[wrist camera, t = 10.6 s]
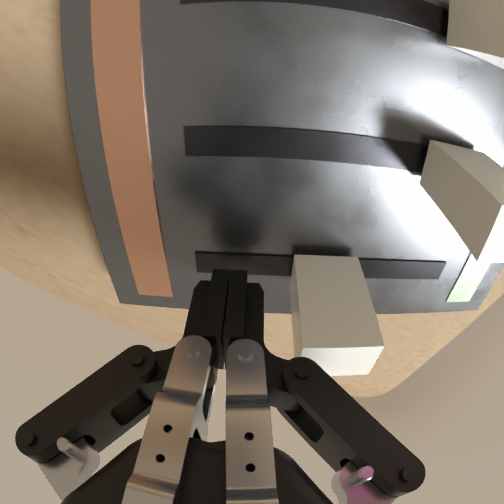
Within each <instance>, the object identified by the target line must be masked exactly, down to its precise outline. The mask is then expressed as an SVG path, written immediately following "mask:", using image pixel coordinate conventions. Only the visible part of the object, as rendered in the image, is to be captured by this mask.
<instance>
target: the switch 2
mask: <svg viewBox="0 0 504 504" xmlns="http://www.w3.org/2000/svg"><path fill="white" fill-rule="evenodd" d="M446 45H447V46H450V47H453V48H455V49H458V50H461V51H463V52H466V53H468V54H471V55H473V56H475V57H478V58H480V59H482V60H485V61H487V62H489V63H491V64H494V65H496V66H498V67H500V68H502V69H504V0H450V1H449V19H448V32H447V42H446Z"/></svg>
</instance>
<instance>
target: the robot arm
mask: <svg viewBox="0 0 504 504" xmlns="http://www.w3.org/2000/svg"><path fill="white" fill-rule="evenodd" d="M247 278H248V270H231V273H230V270H227V269H213V271H212V277H211V281H209V280H200V281H199V283H198V284H197V285H196V286H195V288H194V290H193V295H192V300H191V303H190V308H189V312H188V317H187V321H186V326H185V331H184V335H183V338H182V339H181V340H180V341H179V342H178V343H177V345H176V346H174V347H172V348H170V349H167V350H161V351H156V352H153V351H152V350H151V349H150V348H148V347H147V346H143V345H134V346H132V347H129V348H127V349H126V350H125V351H124V352H122V353H121V354H119V355H118V356H116V357H115V358H114V359H112V360H111V361H109V362H108V363H107V364H105V365H104V366H103V367H101V368H100V369H98V370H97V371H96V372H94V373H93V374H92V375H90V376H89V377H87V378H86V379H85V380H84V381H82V382H81V383H79V384H78V385H76V386H75V387H74V388H72V389H71V390H70V391H68V392H67V393H66V394H64V395H63V396H61V397H60V398H58V399H57V400H56V401H54V402H53V403H51V404H50V405H49V406H47V407H46V408H45V409H43V410H42V411H41V412H39V413H38V414H36V415H35V416H33V417H32V418H31V419H29V420H28V421H27V422H25V423H24V424H22V425H21V426H20V427H19V428H18V430H17V432H16V437H15V439H16V445H17V447H18V449H19V450H20V452H22V453H23V454H24V455H26V456H28V457H29V458H31V459H32V460H34V461H35V462H36V463H37V464H38V465H39V467H40V468H41V470H42V471H43V473H44V475H45V476H46V478H47V479H48V481H49V482H50V484H51V485H52V487H53V488H54V490H55V491H56V493H57V494H58V496H59V497H60V498H61V500H62V503H61V504H333V503H332V502H331V501H330V500H329V499H328V498H327V497H326V495H325V494H324V493H323V492H322V491H321V490H320V489H319V488H318V487H317V486H316V484H315V483H314V482H313V481H312V480H311V479H310V478H309V477H308V475H307V474H306V473H305V472H304V471H303V470H302V469H301V468H300V467H299V465H298V464H297V463H296V462H295V461H294V460H293V459H292V458H291V457H290V456H289V455H287V454H286V453H285V452H283V451H281V450H279V449H277V448H275V447H273V436H272V424H271V411H270V406H273V407H276V408H277V410H278V411H279V412H280V413H281V414H282V416H283V417H284V418H285V419H286V420H287V421H288V422H289V423H290V424H291V425H292V427H293V428H294V429H295V430H296V431H297V432H298V433H299V434H300V435H301V436H302V437H303V438H304V439H305V441H307V443H308V444H309V445H310V446H311V447H312V448H313V449H314V450H315V451H316V452H317V453H318V454H319V455H320V456H321V457H322V458H323V459H324V460H325V461H326V462H327V463H328V464H329V465H330V466H331V467H332V468H333V469H334V470H335V471H336V473H335V474H334V476H333V478H332V481H331V486H332V489H333V491H334V493H335V494H336V495H337V498H338V500H339V504H391V503H392V502H393V501H394V500H395V499H396V498H397V497H399V496H401V495H404V494H407V493H409V492H412V491H414V490H416V489H417V488H418V487H420V485H421V484H422V483H423V481H424V478H425V467H424V465H423V463H422V462H421V461H420V460H419V459H418V458H417V457H416V456H415V455H414V454H413V453H412V452H410V451H409V450H408V449H407V448H406V447H405V446H404V445H402V443H400V442H399V441H398V440H397V439H396V438H395V437H394V436H393V435H392V434H391V433H390V432H388V431H387V430H386V429H385V428H384V427H383V426H382V425H381V424H380V423H379V422H378V421H377V420H376V419H374V418H373V417H372V416H371V415H370V414H369V413H368V412H367V411H366V410H365V409H364V408H363V407H362V406H361V405H360V404H358V403H357V402H356V401H355V400H354V399H353V398H352V397H351V396H350V395H349V394H348V393H347V392H346V391H345V390H344V389H343V388H342V387H341V386H340V385H339V384H338V383H337V382H335V381H334V380H333V379H332V378H331V377H330V376H329V375H328V374H327V373H326V372H325V371H324V370H323V369H322V368H321V367H320V366H319V365H318V364H317V363H316V362H315V361H313V360H312V359H310V358H307V357H295V358H292V359H291V360H286V359H282V358H279V357H277V356H275V355H273V354H271V353H270V352H269V351H268V350H267V348H266V347H265V345H264V291H263V289H262V287H261V285H260V284H259V283H248V282H247ZM224 362H225V369H226V440H225V441H219V442H207V434H208V421H209V417H210V411H211V407H212V401H213V397H214V392H215V386H216V379H217V371H218V369H224V368H223V367H224ZM149 413H150V414H149ZM148 414H149V418H148V421H147V425H146V428H145V431H144V435H143V438H141V439H139V440H137V441H135V442H134V443H132V444H131V445H129V446H128V447H127V448H126V449H124V450H123V451H122V452H121V453H120V454H119V455H117V456H116V457H115V458H114V459H112V460H111V461H110V462H109V463H108V464H106V465H105V466H104V467H103V468H102V469H100V470H99V471H98V472H97V473H95V474H94V475H93V476H92V477H91V475H92V474H93V472H94V471H95V470H96V469H97V468H98V466H99V463H100V456H99V452H100V451H102V450H103V449H104V448H106V447H107V446H108V445H110V444H111V443H112V442H114V441H115V440H116V439H118V438H119V437H120V436H122V435H123V434H124V433H125V432H127V431H128V430H129V429H130V428H132V427H133V426H134V425H136V424H137V423H138V422H139V421H141V420H142V419H143V418H144V417H146V416H147V415H148Z"/></svg>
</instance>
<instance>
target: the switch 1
mask: <svg viewBox="0 0 504 504" xmlns="http://www.w3.org/2000/svg"><path fill="white" fill-rule="evenodd" d="M290 297H291V312H292V327H293V344H294V358H295V357H307V358H310V359H312V360H313V361H315V362H316V363H317V364H318V365H319V366H320V367H321V368H322V369H323V370H324V371H325V372H326V373H327V374H328V375H329V376H343V375H363V374H368V373H369V372H370V370H371V369H372V367H373V365H374V363H375V362H376V360H377V358H378V357H379V355H380V353H381V351H382V350H383V348H384V342H383V339H382V335H381V331H380V328H379V324H378V320H377V317H376V313H375V310H374V307H373V303H372V300H371V296H370V293H369V290H368V287H367V284H366V280H365V277H364V274H363V271H362V268H361V265H360V262H359V259H358V257H345V256H319V255H294V260H293V267H292V274H291V281H290Z"/></svg>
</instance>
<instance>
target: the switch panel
mask: <svg viewBox="0 0 504 504" xmlns="http://www.w3.org/2000/svg"><path fill="white" fill-rule="evenodd" d="M449 1H450V0H60V15H61V40H62V55H63V66H64V76H65V85H66V93H67V101H68V108H69V114H70V120H71V126H72V132H73V138H74V143H75V148H76V153H77V158H78V163H79V167H80V172H81V176H82V181H83V185H84V189H85V193H86V197H87V201H88V205H89V208H90V212H91V216H92V219H93V223H94V226H95V230H96V233H97V237H98V240H99V243H100V246H101V250H102V253H103V256H104V259H105V262H106V265H107V268H108V271H109V274H110V277H111V280H112V282H113V285H114V288H115V291H116V294H117V296H118V299H119V302H120V303H124V304H134V305H145V306H157V307H169V308H183V309H189V308H190V303H191V300H192V295H193V290H194V288H195V286H196V285H197V284H198V283H199V281H200V280H209V281H211V277H212V271H213V269H227V270H230V273H231V270H248V278H247V282H248V283H259V284H260V285H261V287H262V289H263V291H264V313H286V314H292V312H291V297H290V281H291V274H292V267H293V260H294V255H319V256H345V257H358V259H359V262H360V265H361V268H362V271H363V274H364V277H365V280H366V284H367V287H368V290H369V293H370V296H371V300H372V303H373V307H374V310H375V313H376V314H399V313H429V312H450V311H467V310H478V308H479V307H480V305H481V303H482V302H483V300H484V299H485V297H486V295H487V294H488V292H489V290H490V289H491V287H492V285H493V284H494V282H495V280H496V278H497V277H498V275H499V273H500V271H501V270H502V268H503V266H504V263H495V262H477V261H476V260H475V258H474V257H473V255H472V254H471V252H470V251H469V249H468V248H467V246H466V245H465V244H464V242H463V241H462V239H461V238H460V236H459V235H458V234H457V232H456V231H455V229H454V228H453V227H452V225H451V224H450V223H449V221H448V220H447V219H446V217H445V216H444V215H443V213H442V212H441V211H440V209H439V208H438V207H437V205H436V204H435V203H434V202H433V200H432V199H431V198H430V197H429V195H428V194H427V193H426V192H425V190H424V189H423V188H422V187H421V186H420V184H419V182H420V179H421V175H422V171H423V167H424V163H425V160H426V156H427V151H428V147H429V143H430V140H434V141H438V142H443V143H447V144H452V145H456V146H460V147H464V148H468V149H472V150H476V151H479V152H483V153H485V154H486V155H487V156H489V157H490V158H491V159H492V160H494V161H495V162H496V163H497V164H499V165H500V166H501V167H502V168H504V69H502V68H500V67H498V66H496V65H494V64H491V63H489V62H487V61H485V60H482V59H480V58H478V57H475V56H473V55H471V54H468V53H466V52H463V51H461V50H458V49H455V48H453V47H450V46H447V45H446V42H447V32H448V19H449Z"/></svg>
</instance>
